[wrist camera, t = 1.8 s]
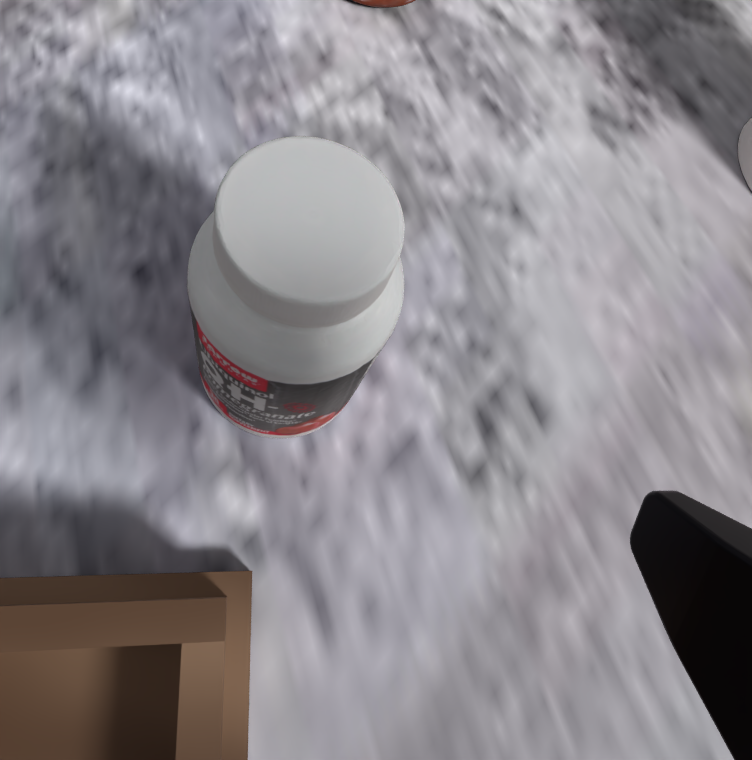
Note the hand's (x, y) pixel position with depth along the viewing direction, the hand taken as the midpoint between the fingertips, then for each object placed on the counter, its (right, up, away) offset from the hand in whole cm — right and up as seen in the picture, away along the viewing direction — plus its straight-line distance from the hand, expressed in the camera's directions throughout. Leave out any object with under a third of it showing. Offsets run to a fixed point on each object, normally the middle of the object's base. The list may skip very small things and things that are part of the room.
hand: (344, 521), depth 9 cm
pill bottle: (-3, +2, +14) cm, 14 cm away
